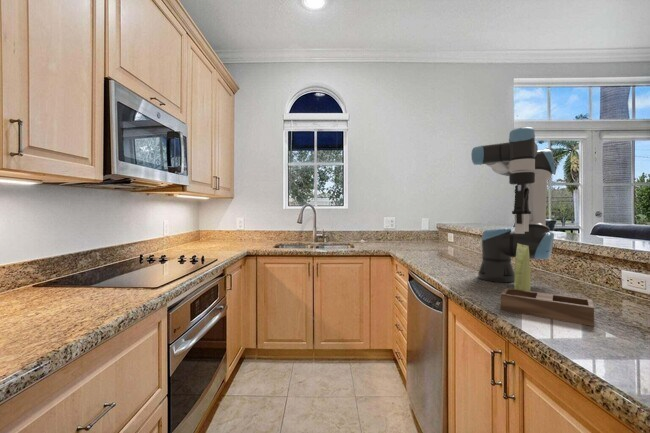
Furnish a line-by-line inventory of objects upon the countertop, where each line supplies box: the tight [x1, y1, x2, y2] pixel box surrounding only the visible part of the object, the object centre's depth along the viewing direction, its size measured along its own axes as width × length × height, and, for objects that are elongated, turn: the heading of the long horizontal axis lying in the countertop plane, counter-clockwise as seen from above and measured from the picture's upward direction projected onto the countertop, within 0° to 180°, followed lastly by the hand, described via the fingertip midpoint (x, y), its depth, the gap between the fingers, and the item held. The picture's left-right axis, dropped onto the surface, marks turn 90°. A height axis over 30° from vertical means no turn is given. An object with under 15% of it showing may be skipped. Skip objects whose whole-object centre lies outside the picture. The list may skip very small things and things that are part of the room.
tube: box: [513, 243, 531, 291], centre depth 105 cm, size 6×5×20 cm
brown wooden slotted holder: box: [500, 287, 595, 327], centre depth 91 cm, size 10×22×5 cm, turn 50°
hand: (522, 232), depth 105 cm, fingers open, 13 cm apart
